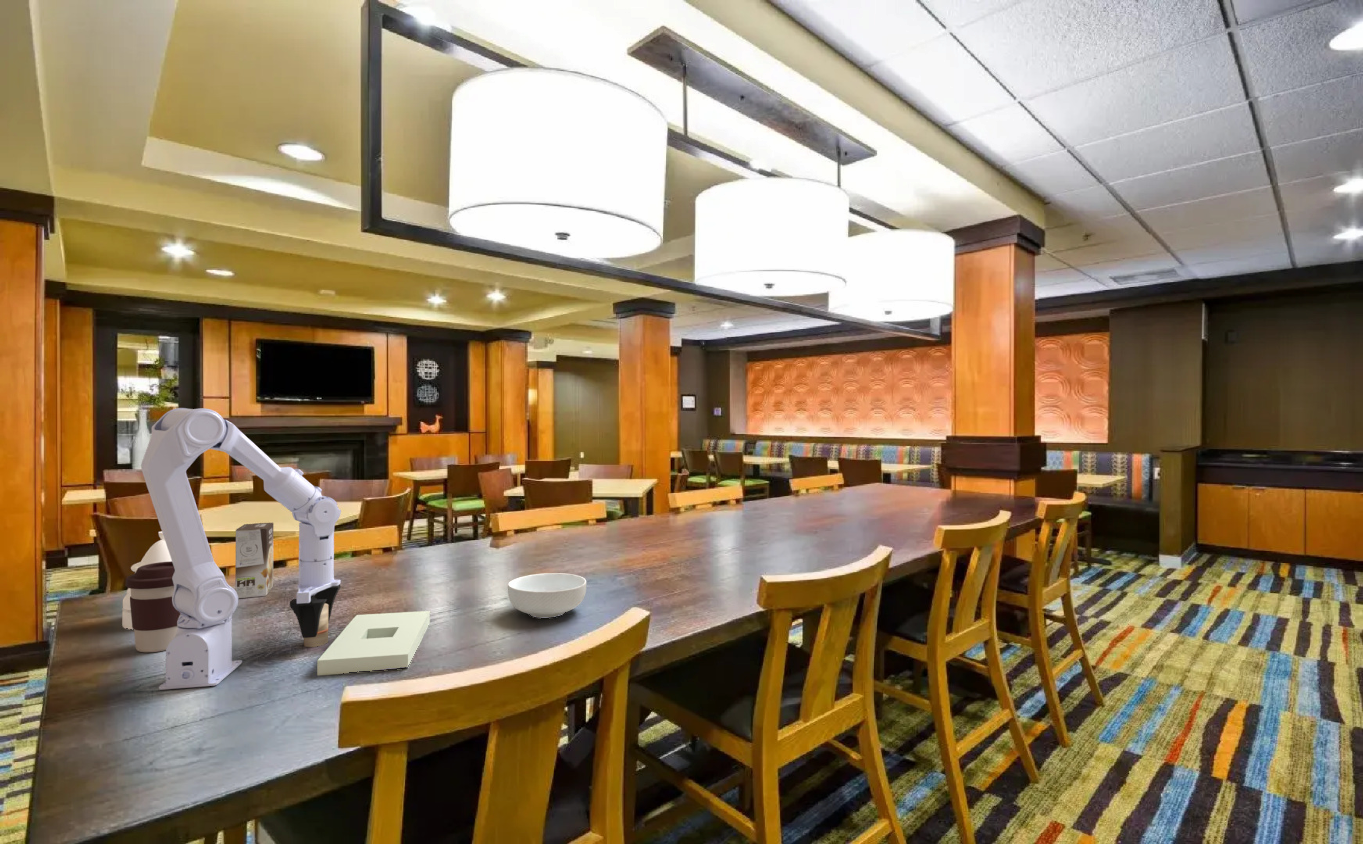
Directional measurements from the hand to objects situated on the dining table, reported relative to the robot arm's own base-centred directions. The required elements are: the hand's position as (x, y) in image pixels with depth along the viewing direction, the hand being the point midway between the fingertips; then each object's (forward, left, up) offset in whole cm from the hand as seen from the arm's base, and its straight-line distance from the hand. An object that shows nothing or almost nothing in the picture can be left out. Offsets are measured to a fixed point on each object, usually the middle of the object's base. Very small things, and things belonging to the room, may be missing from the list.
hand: (316, 630), depth 119 cm
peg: (0, 0, -2) cm, 2 cm away
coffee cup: (+4, +27, -3) cm, 27 cm away
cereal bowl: (+10, -43, -3) cm, 44 cm away
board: (-4, -12, -2) cm, 13 cm away
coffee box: (+39, +25, -3) cm, 46 cm away
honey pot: (+21, +35, -3) cm, 41 cm away
